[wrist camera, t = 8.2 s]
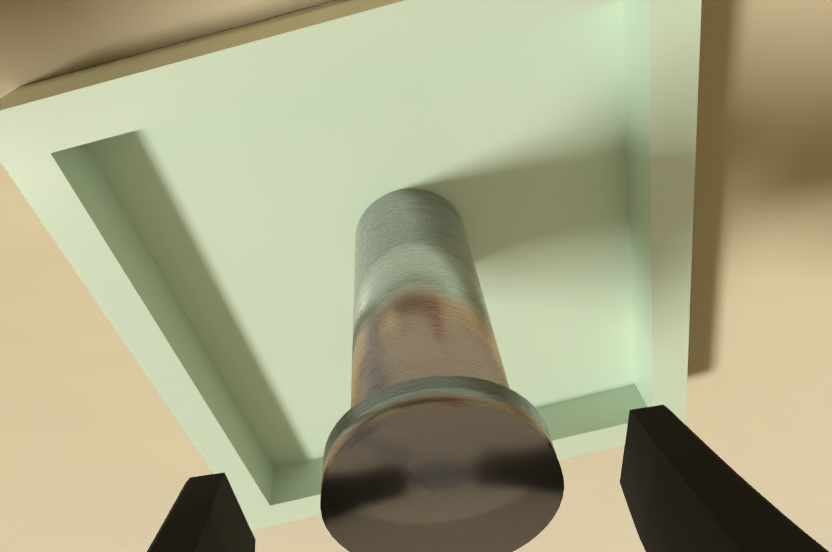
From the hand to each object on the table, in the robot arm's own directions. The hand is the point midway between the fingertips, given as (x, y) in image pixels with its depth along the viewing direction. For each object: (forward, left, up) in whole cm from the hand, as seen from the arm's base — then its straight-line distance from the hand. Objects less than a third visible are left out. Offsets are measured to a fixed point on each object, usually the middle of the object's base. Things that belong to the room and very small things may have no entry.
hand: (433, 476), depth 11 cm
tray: (0, 0, -7) cm, 7 cm away
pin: (0, +1, -6) cm, 6 cm away
